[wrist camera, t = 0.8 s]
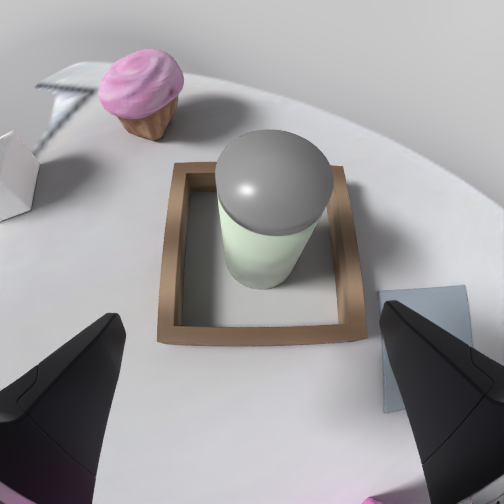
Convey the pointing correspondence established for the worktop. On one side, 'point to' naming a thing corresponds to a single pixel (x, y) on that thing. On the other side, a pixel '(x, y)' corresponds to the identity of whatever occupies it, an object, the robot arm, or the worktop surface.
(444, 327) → the rubber mat
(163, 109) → the cupcake
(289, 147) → the plastic jar
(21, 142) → the medicine bottle
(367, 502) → the gum box
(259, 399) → the worktop surface
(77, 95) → the worktop surface
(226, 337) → the walnut frame
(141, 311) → the worktop surface
